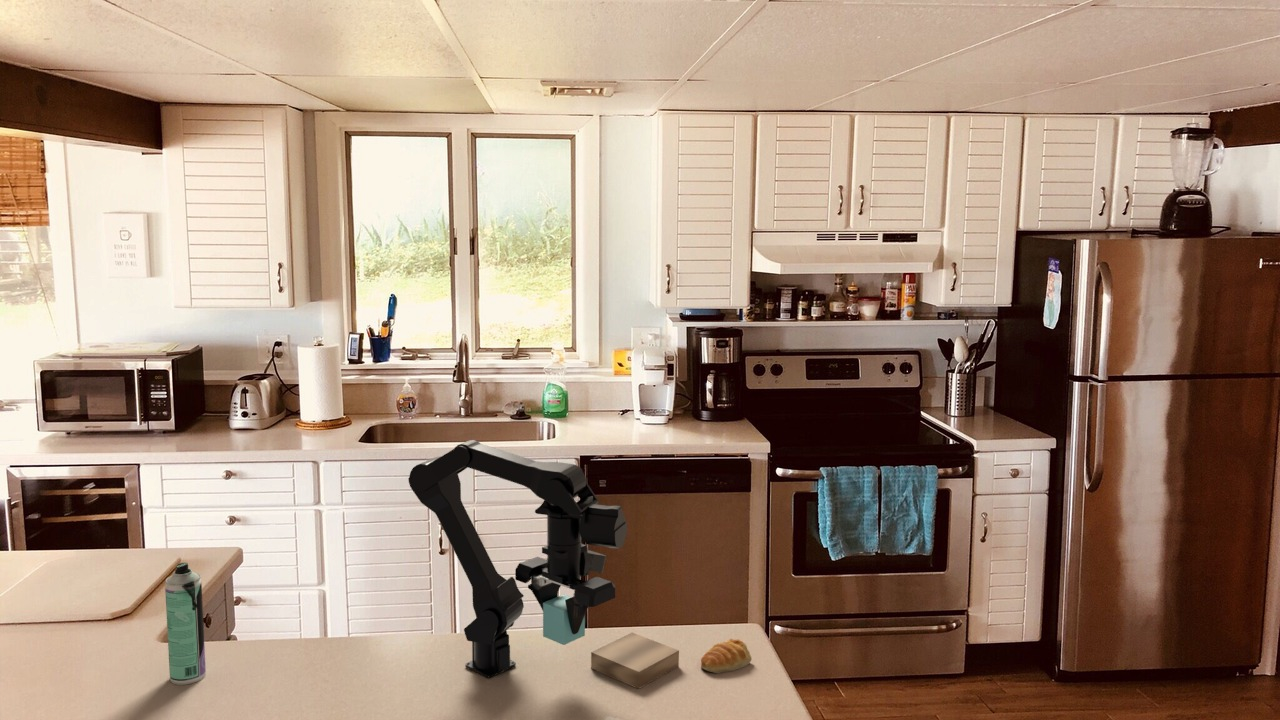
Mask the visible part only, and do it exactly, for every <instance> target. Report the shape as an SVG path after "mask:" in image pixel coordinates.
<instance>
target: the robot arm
mask: <svg viewBox="0 0 1280 720" xmlns="http://www.w3.org/2000/svg"><path fill="white" fill-rule="evenodd" d="M468 468H469V469H472V470H474V471H477V472H480V473H484V474H487V475H490V476H492V477H496V478H499V479H502V480H505V481H508V482H512V483H513V484H518V485H520V486H524V487H525V488H527V489H529V490H530V491H531V492H532V493H533V494H534V495H535V496H536V497H538V498H540V500H543V502H542V503H541V504H540V506H539V507H537V508H536V509H535V510H534V513H535V514H537V515H543V516H544V515H545V516H546V521H547V522H546V527H547V530H546V536H547V538H546V540H547V541H546V544H547V545H545V546H542V547H541V554H543V555H546V556H547V557H546V558H543V557H539V556H536V557H533V558H530V559H528V560H525V561H521V562H519V563H518V564H517V566H516V567H515V569H514V570H515V574H514V575H515V578H514V577H513V576H510V577H509V578H508V579H506V578H504V577H503V576H502V575H501V574H499V572H498V571H497V570H496V567H495V566H494V563H493V562H492V559H491V557H490V556H489V553H488V551H487V550H486V547H485V546H484V544H483V542H482V539H481V538H480V536H479V534H478V532H477V530H476V528H475V526H474V524H473V522H472V520H471V518H470V515H469V514H468V511H467V510H466V508H465V506H464V504H463V502H462V492H461V491H462V490H461V489H462V487H461V480H460V478H459V474H461V473H462V472H464V471H465V470H466V469H468ZM407 480H408V484H409V487H410V489H411V491H412V492H413V493H414V495H415V496H416V498H417V499H418V500H419V502H420V503H421V504H422V505H423V506H425V507H426V508H427V509H429V510H430V511H431V512H433V513H434V514H435V515H436V518H437V519H438V521H439V523H440V525H441V527H442V529H443V531H444V533H445V535H446V537H447V540H448V542H449V543H450V545H451V547H452V549H453V552H454V553H455V556H456V557H457V559H458V561H459V563H460V565H461V567H462V569H463V571H464V573H465V575H466V577H467V579H468V582H469V584H470V586H471V588H472V592H471V593H472V608H473V611H474V614H475V617H476V618H475V619H473V621H471V622H470V623H469V624H468V625H467V626H466V627H464V628H463V632H464V635H465V638H466V641H468V642H471V644H472V645H471V646H472V648H471V649H472V650H471V653H472V654H471V655H472V658H471V659H472V660H470V661H468V662H466V663H465V668H467V669H469V670H471V671H474V672H476V673H478V674H479V675H482V676H483V677H485V678H491V677H493V676H497V675H498V674H500V673H504V672H505V671H507V670H509V669H511V668H514V667H516V664H517V663H516V661H514V660H511V645H510V635H509V634H508V630H509V629H510V628H512V627H513V626H514V625H515V621H517V620H518V619H519V618H520V617H521V616H522V614H523V612H524V611H523V610H524V607H525V606H524V601H523V599H522V598H524V596H525V595H524V594H523V593H522V592H521V590H520V589H519V588H518V585H517V582H516V581H518V582H521V583H523V584H528V583H529V582H530V581H531V582H530V584H528V585H527V588H528V589H529V590H530V591H531V592H532V594H533V596H534V597H535V599H536V601H537V603H538V604H539V607H540V608H541V610H542V611H543V603H544V602H546V601H549V600H551V599H554V598H556V597H559V596H558V595H559V594H558V593H559V591H560V588H561V586H562V587H564V588H566V589H570V590H573V591H574V593H573V596H570V597H571V598H569V599H566V600H565V602H566V608H567V613H568V618H569V623H570V628H571V631H572V634H576V633H578V632H579V629H580V626H581V624H582V621H583V618H584V616H585V617H586V613H587V611H588V609H589V608H596V607H597V606H599V605H601V604H604V603H606V602H608V601H612V600H613V599H615V598H616V585H615V583H613V582H612V581H611V580H607V579H605V578H602V577H599V576H595V577H592V578H589V579H587V580H583V579H581V578H582V576H583V577H586V576H589V575H590V572H595V573H598V574H603V572H604V567H605V563H606V559H607V555H605V554H602V553H599V552H597V551H593V550H589V549H588V545H589V546H597V547H604V548H605V547H606V548H610V549H618V550H619V549H621V548H622V547H623V546H624V543H625V540H626V538H627V532H628V522H627V521H626V517H625V514H624V513H623V507H622V506H620V505H604V504H603V505H602V504H599V499H598V498H597V496H596V494H595V493H594V491H593V490H592V488H591V487H590V485H589V484H588V482H587V478H586V476H585V474H584V472H583V469H582V468H581V467H580V466H578V465H577V464H573V463H568V462H567V463H566V462H560V461H538V460H537V461H536V460H533V459H530V458H527V457H524V456H520V455H518V454H514V453H511V452H508V451H506V450H505V451H504V450H502V449H499V448H496V447H492V446H489V445H486V444H482V443H481V442H479V441H478V440H474V439H471V440H470V439H469V440H467V441H464V442H461V443H459V444H457V445H456V446H455V447H454V448H452V449H451V450H449V451H448V452H447V453H444V454H442V455H441V456H436V457H434V458H431V459H428V460H426V461H424V462H421V463H419V464H416V465H415V466H414V467H412V469H411V470H410V472H409V477H408V479H407ZM577 497H578V498H579V500H577V501H576V500H575V499H576V498H577ZM582 542H584V543H585V544H584V543H582Z"/></svg>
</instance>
